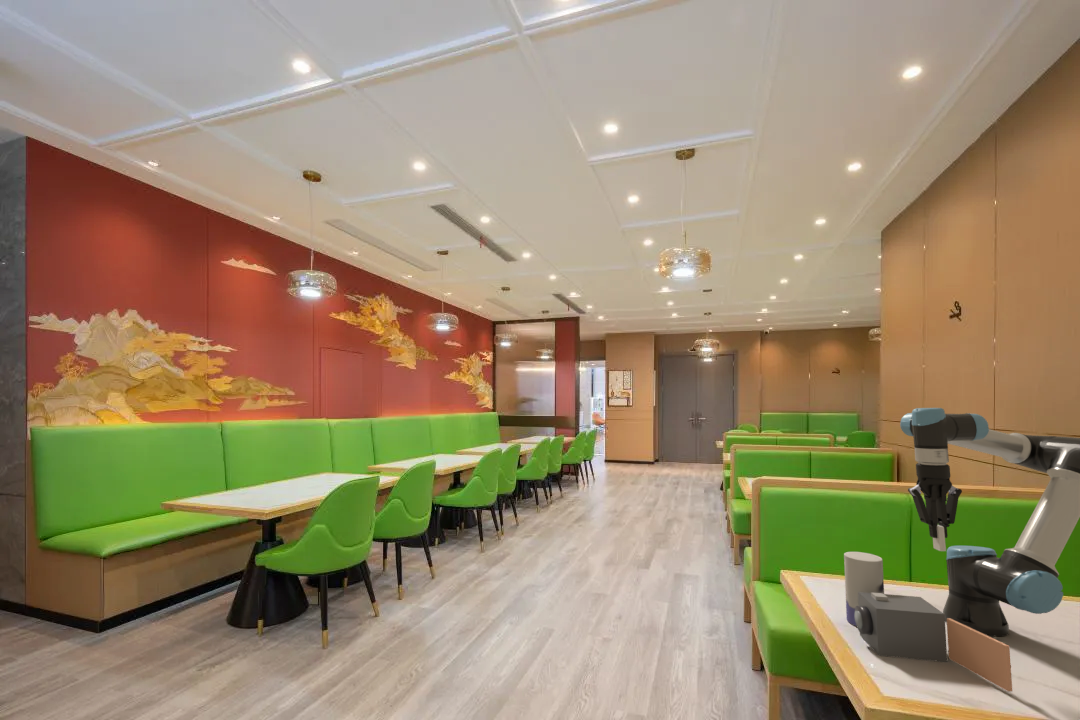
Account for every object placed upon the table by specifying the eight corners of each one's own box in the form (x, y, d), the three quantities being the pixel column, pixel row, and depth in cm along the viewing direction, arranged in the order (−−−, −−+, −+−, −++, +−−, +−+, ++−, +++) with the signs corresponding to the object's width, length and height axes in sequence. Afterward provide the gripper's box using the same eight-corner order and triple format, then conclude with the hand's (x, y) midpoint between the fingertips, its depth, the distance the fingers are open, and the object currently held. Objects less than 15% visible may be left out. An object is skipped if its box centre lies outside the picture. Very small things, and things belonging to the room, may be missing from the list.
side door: (948, 658, 131) (946, 618, 131) (955, 658, 131) (953, 618, 132) (1008, 691, 116) (1005, 646, 117) (1016, 691, 116) (1013, 645, 117)
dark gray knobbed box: (922, 640, 142) (920, 593, 143) (947, 662, 131) (944, 610, 132) (850, 634, 146) (848, 587, 147) (867, 654, 134) (865, 603, 136)
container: (892, 632, 148) (888, 562, 149) (854, 629, 150) (851, 559, 151) (876, 618, 157) (873, 552, 159) (841, 615, 159) (838, 550, 161)
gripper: (915, 465, 138) (923, 553, 136) (967, 464, 137) (975, 553, 135) (899, 461, 146) (906, 545, 144) (947, 461, 144) (955, 545, 142)
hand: (939, 549), depth 139 cm, fingers closed
